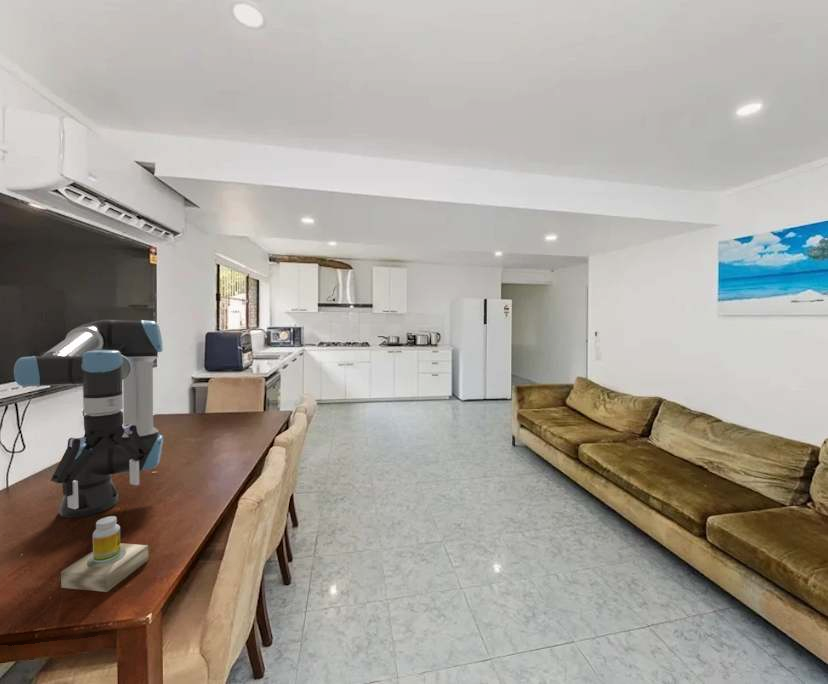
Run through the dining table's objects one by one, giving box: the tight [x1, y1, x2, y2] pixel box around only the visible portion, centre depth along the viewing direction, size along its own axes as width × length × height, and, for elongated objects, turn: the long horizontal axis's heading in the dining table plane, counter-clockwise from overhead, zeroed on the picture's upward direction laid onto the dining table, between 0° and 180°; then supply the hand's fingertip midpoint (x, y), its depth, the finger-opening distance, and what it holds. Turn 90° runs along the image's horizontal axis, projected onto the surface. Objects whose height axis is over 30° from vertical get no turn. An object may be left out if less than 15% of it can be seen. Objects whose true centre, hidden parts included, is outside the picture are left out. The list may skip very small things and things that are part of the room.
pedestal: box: [60, 542, 149, 593], centre depth 93 cm, size 12×12×4 cm
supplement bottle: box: [92, 515, 121, 563], centre depth 93 cm, size 5×5×10 cm
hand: (106, 495), depth 93 cm, fingers open, 13 cm apart
